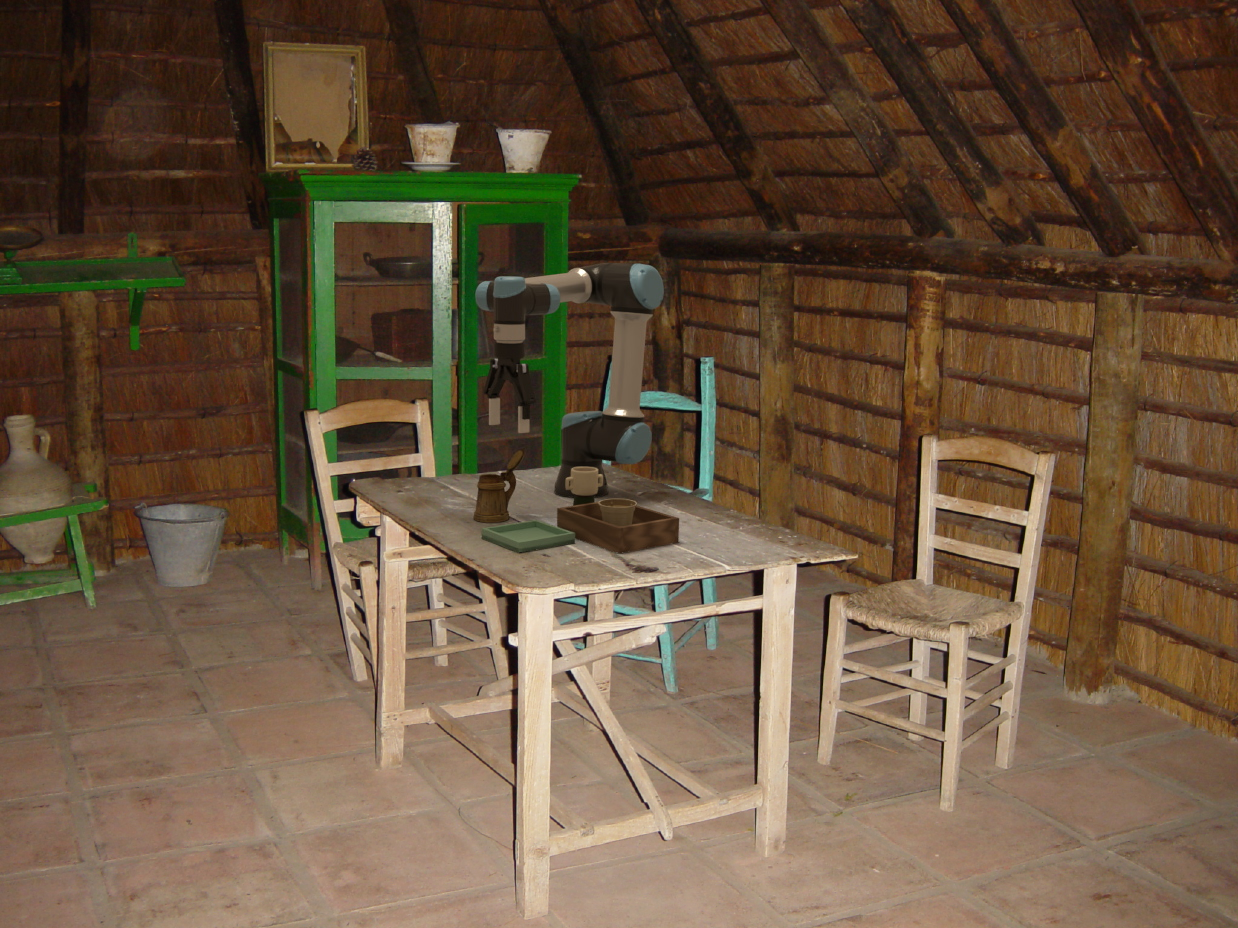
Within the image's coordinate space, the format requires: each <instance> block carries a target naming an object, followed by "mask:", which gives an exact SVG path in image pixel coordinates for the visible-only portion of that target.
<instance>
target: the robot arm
mask: <svg viewBox="0 0 1238 928" xmlns="http://www.w3.org/2000/svg"><path fill="white" fill-rule="evenodd" d="M664 293H665V288H664V282H663V279H662V275H660V272H659V271H658V270H657V269H656V267H654V266H652V265H649V264H642V263H628V262H627V263H624V262H623V263H622V262H621V263H619V262H617V263H616V262H603V263H595V264H591V265H585V266H581V267H574V268H572V269H570V270H569V271H568V272H566V273H557V274H549V275H542V276H535V277H534V276H532V277H523V276H505V275H504V276H503V275H501V276H497V277H496V278H495V279H494V280H489V281H487V280H485V281H482V282H481V283H479V284H478V286H476V290H475V293H474V294H475V303H476V305H477V306H478V307H479V309H480V310H483V311H488V312H491V313H493V329H492V331H493V339H494V341H495V342H494V343H493V357H494V358H491V359H490V361H489V370H488V373H487V377H486V380H485V385H484V387H483V392H482V393H483V395H486V396H487V398H488V425H489V426H495V425H501V395H500V393H501V391H502V389H503V387H504V386H505V383H506V381H508V382H509V383H510V384H511V385H512V387H513V389H514V392H515V394H516V397H517V399H518V402H519V403H518V405H517V406H518V408H517V413H518V414H517V415H518V417H517V423H518V424H517V433H518V434H525V433H530V419H531V418H530V417H531V416H530V415H531V406H533V405H534V404H535V405H536V403H537V400H536V396H535V392H534V388H533V384H532V380H531V376H530V371H529V370H530V368H529V367H530V366H529V364H528V363H522V362H521V359H523V358H525V356H526V354H525V353H526V344H525V342H524V341H525V340H526V316H539V315H541V316H547V315H549V314H554V313H555V312H556V311H557V310H558V309H559V307H560V304H561V303H567V302H573V303H575V304H596V305H603V306H608V307H609V306H610V309H609V310H610V311H609V312H610V315H611V316H612V317H613V318H614V328H613V329H614V330H613V343H612V345H613V346H612V355H611V368H610V369H611V370H610V382H609V394H608V407H607V408H606V409H604V410H603V411H601V410H588V411H578V412H577V411H576V412H569V413H566V414H564V415H563V417H562V418H561V428H560V431H561V433H560V434H561V435H560V440H561V441H560V447H561V448H560V449H561V451H560V452H561V453H560V457H561V458H560V461H561V462H560V468H559V471H558V474H557V477H556V481H555V483H554V493H555V494H556V495H557V496H560V497H561V496H562V497H567V498H573V499H574V498H575V496H576V494H573V493H572V492H571V490H566V488H565V482H566V478H567V477H571V469H572V468H574V467H594V468H597V469H598V474H602V475H603V486H601V487H598V491H597V494H594V495H592V496H593V497H594V498H598V497H603V496H605V495H608V493H609V485H608V481H607V477H606V475H605V472H604V467H603V461H607V462H611V463H612V462H613V463H617V464H620V465H625V464H626V465H635V464H638V463H640V462H641V461H642V460H643V459H644V458H645V456H647V455H648V452H649V451H650V448H651V444H652V435H653V434H652V431H651V428H650V426H649V425H648V424H646V423H645V414H644V412H642V411H641V409H640V407H641V396H642V385H643V382H642V381H643V371H644V370H643V369H644V358H645V357H644V356H645V347H646V346H645V344H646V334H647V322H648V321H649V320H650V319H651V318H652V317H653V316H654V309H656V308H657V309H658V308H659V306H661V303H662V301H663V299H664ZM598 483H599V478H598ZM569 486H570V481H569Z"/></svg>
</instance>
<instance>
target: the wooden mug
mask: <svg viewBox="0 0 1238 928" xmlns="http://www.w3.org/2000/svg"><path fill="white" fill-rule="evenodd" d="M525 455H526V449H525V447H524V448H521V449H519V450H517V451H516V452H515V453H514V454H513V455H512V456H511V458H510V460H509V461H508V463H507V467H506V470H505V471H502V472H500V474H495V473H485V474H481V475H479V479H478V482H477V484H476V485H477V486H476V487H477V488H478V489H477V497H476V505H475V511H474V512H473V520H475V521H477V522H480V523H491V524H492V523H501V522H506V521H508V520H509V518H510V512H509V510H508V507H509V502H510V499H511V498H512V496H513V494H514V492H515V490H516V486H517V477H516V475H515V473H514V471H515V470H517V468H518V467H519V466H520V464H521V463H522V461H523V460H524V457H525ZM506 482H507V483H509V487H508V490H506V489H505V488H506V487H507V483H506Z"/></svg>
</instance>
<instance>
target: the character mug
mask: <svg viewBox="0 0 1238 928" xmlns="http://www.w3.org/2000/svg"><path fill="white" fill-rule="evenodd" d="M598 478H599V483H598ZM569 481H570V486H569ZM601 486H603V475H602V474H598V469H597V468H594V467H574V468H572V469H571V477H567V478H566V482H565V488H566V490H571V492H572V493H573V494H576V496H575V498H574V497H573V503H572V506H575V505H582V504H588V503H595V497H593V496H592V495H594V494H597V491H598V487H601Z"/></svg>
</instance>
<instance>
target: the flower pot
mask: <svg viewBox="0 0 1238 928" xmlns="http://www.w3.org/2000/svg"><path fill="white" fill-rule="evenodd" d="M597 502H598V504H599V505H600V510H601V512H602V519H603V521H604V522H607V523H610V524H613V525H617V526H620V527H621V526H627V525H632V519H633V513H634V511H635V506H636V505H637V506H638V502H637V501H636V500H632V499H627V498H606V499H602V500H599V501H597Z"/></svg>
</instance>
